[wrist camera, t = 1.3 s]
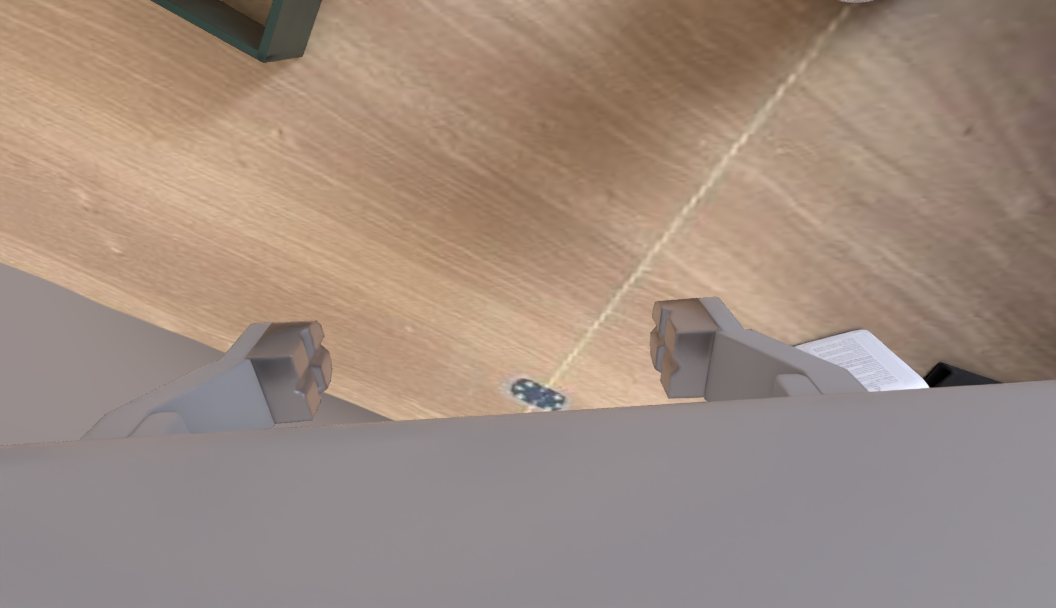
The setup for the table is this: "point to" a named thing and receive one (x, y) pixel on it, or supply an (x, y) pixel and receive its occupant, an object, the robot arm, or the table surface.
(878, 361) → the photo printer
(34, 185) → the table surface
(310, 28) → the storage tote
